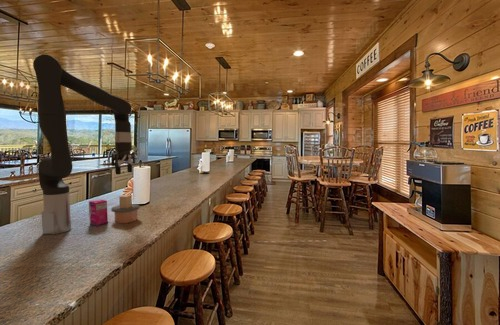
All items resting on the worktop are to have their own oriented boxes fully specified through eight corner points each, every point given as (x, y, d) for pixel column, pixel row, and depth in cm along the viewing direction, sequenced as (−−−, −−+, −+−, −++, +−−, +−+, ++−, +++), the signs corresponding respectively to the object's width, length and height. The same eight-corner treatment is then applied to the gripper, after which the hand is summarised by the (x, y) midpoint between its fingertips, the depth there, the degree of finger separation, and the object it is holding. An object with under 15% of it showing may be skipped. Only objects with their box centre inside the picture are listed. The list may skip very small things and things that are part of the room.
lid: (128, 213, 118) (128, 199, 117) (105, 211, 120) (104, 197, 120) (144, 206, 131) (144, 193, 130) (123, 204, 133) (122, 192, 132)
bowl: (128, 224, 120) (128, 212, 120) (110, 222, 122) (110, 210, 122) (141, 217, 130) (140, 206, 130) (124, 216, 132) (123, 205, 131)
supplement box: (89, 224, 119) (88, 201, 118) (101, 221, 124) (100, 198, 123) (96, 226, 116) (95, 202, 115) (108, 223, 121) (107, 200, 120)
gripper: (126, 141, 131) (127, 171, 132) (106, 141, 117) (107, 174, 118) (138, 141, 130) (139, 172, 131) (120, 141, 116) (120, 175, 117)
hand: (124, 173), depth 125 cm, fingers open, 8 cm apart
